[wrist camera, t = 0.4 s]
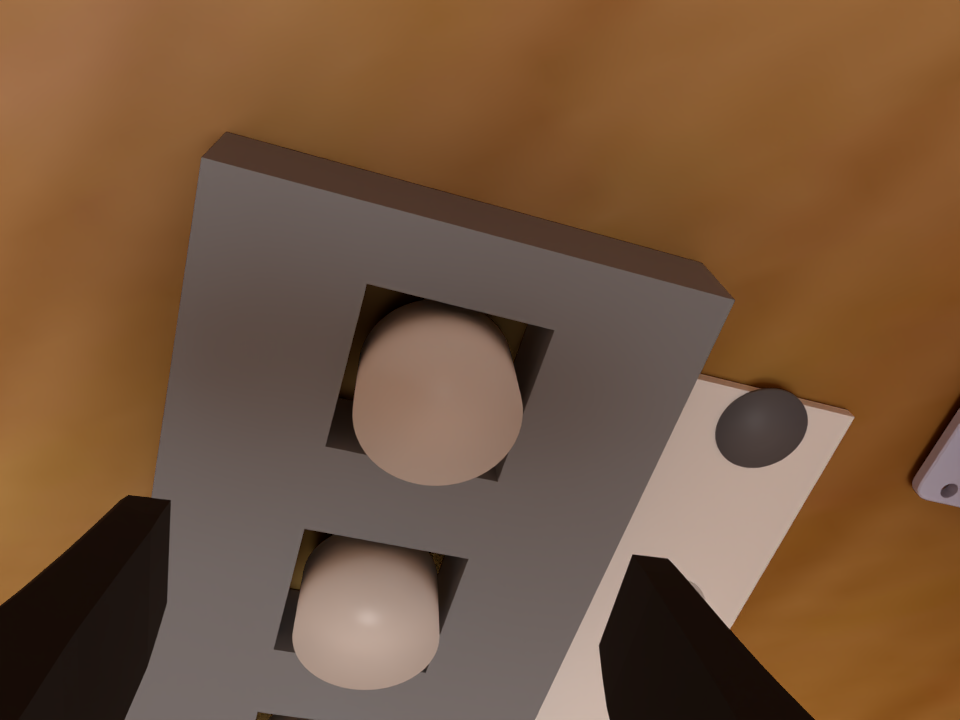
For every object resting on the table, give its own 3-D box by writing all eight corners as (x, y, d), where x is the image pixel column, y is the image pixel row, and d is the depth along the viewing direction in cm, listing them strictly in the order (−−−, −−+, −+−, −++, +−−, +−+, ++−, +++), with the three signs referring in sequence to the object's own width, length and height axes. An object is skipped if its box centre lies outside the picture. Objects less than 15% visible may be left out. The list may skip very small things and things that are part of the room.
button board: (701, 262, 21) (734, 300, 18) (462, 799, 30) (465, 864, 28) (226, 131, 18) (201, 157, 16) (126, 758, 28) (103, 826, 26)
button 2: (453, 540, 22) (456, 598, 20) (418, 637, 24) (418, 698, 22) (317, 515, 22) (308, 572, 20) (290, 616, 23) (279, 678, 21)
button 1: (532, 320, 19) (545, 363, 18) (486, 447, 21) (493, 499, 19) (379, 282, 19) (374, 322, 17) (343, 417, 20) (335, 467, 18)
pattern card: (852, 401, 23) (861, 410, 22) (636, 773, 30) (640, 785, 30) (694, 361, 22) (700, 370, 22) (509, 755, 29) (511, 768, 29)
